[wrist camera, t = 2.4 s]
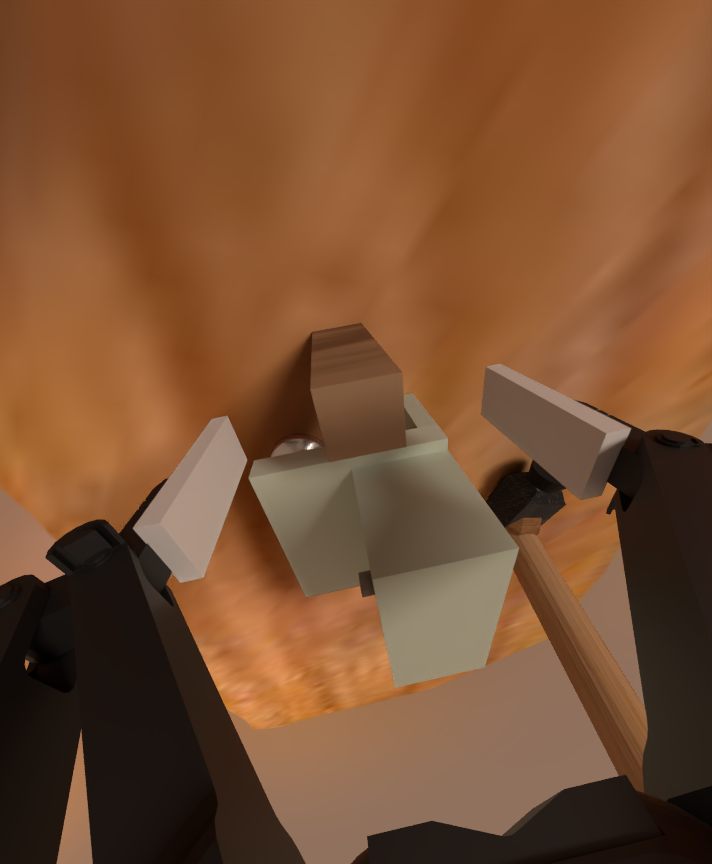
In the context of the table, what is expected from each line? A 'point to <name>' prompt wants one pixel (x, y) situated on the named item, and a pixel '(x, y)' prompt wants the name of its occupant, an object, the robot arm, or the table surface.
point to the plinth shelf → (397, 544)
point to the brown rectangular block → (356, 393)
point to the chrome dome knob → (296, 444)
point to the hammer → (571, 621)
